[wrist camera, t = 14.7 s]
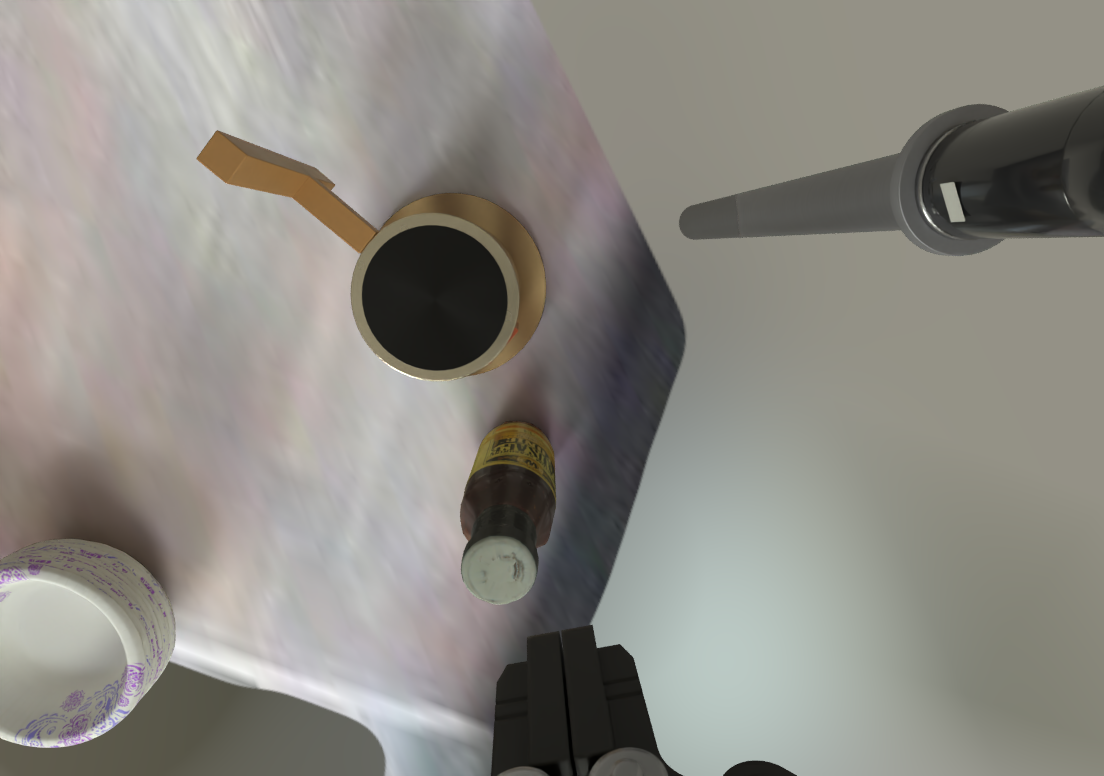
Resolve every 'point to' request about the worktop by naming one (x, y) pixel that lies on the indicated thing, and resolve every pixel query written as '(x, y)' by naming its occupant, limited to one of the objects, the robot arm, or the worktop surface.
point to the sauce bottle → (507, 512)
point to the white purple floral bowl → (77, 640)
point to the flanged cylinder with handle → (400, 269)
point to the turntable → (516, 244)
